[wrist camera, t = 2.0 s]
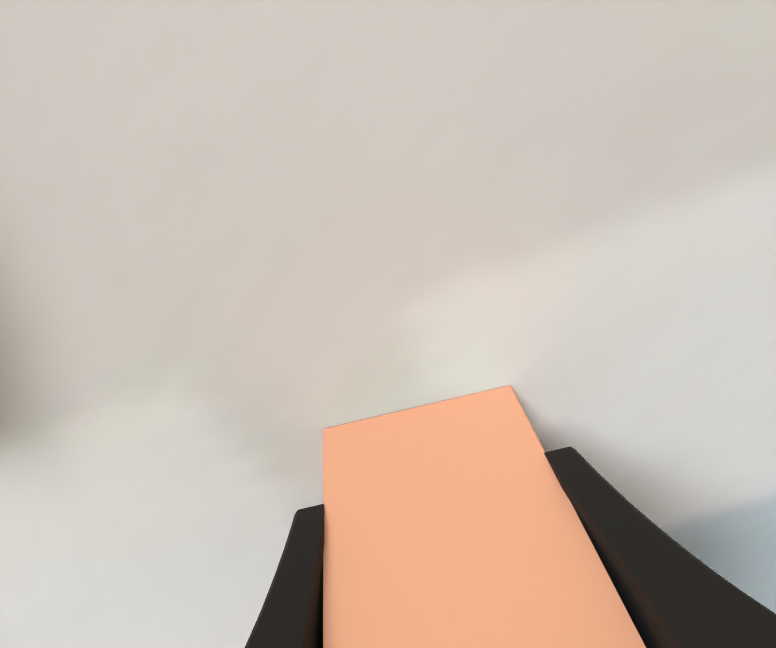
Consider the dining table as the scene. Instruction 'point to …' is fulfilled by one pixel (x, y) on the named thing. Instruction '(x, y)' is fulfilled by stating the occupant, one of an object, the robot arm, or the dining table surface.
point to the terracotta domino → (458, 536)
